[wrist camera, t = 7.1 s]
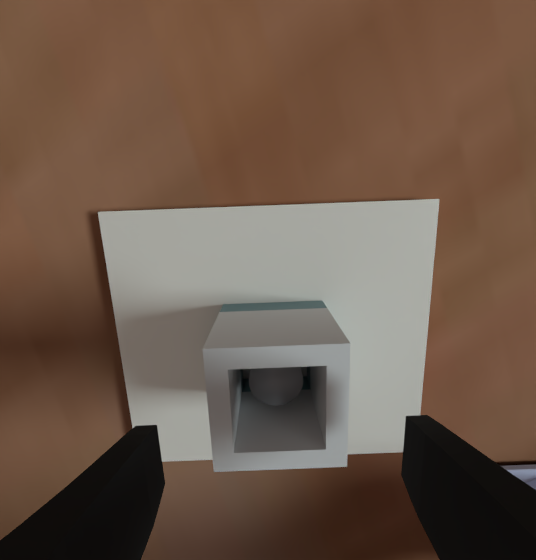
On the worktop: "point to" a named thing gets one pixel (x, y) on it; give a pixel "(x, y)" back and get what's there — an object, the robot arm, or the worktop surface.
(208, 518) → the worktop surface
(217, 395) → the sleeve
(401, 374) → the pin board
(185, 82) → the worktop surface
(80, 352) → the worktop surface
